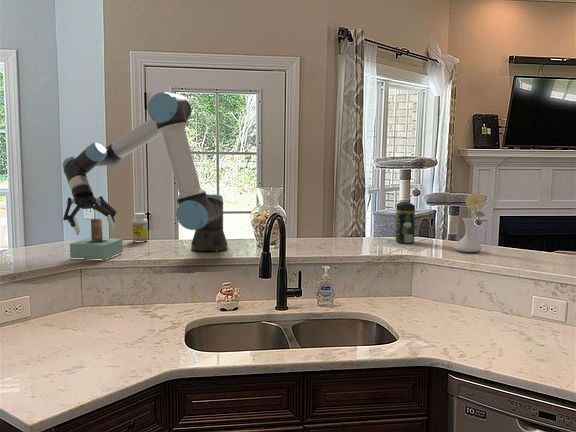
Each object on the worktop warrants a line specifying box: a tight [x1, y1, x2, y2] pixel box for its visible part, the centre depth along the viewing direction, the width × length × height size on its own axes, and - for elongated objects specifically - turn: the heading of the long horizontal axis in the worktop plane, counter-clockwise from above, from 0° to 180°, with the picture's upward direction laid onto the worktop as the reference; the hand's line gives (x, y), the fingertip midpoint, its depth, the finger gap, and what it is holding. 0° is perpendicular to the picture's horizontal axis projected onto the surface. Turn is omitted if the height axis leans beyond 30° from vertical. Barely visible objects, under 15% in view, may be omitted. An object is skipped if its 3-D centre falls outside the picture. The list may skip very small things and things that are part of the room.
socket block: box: [69, 237, 124, 260], centre depth 210 cm, size 14×14×6 cm
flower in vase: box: [453, 191, 487, 253], centre depth 224 cm, size 13×11×25 cm
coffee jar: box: [395, 201, 416, 245], centre depth 246 cm, size 10×8×19 cm
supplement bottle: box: [131, 212, 149, 242], centre depth 244 cm, size 7×7×13 cm
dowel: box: [90, 218, 103, 243], centre depth 210 cm, size 4×4×14 cm
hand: (96, 231), depth 209 cm, fingers open, 13 cm apart
